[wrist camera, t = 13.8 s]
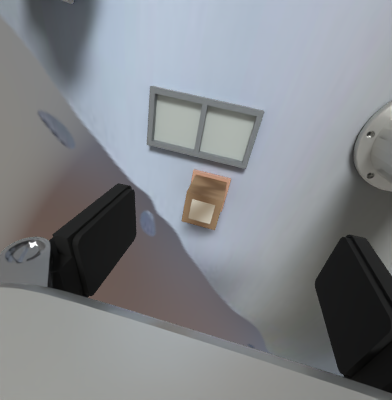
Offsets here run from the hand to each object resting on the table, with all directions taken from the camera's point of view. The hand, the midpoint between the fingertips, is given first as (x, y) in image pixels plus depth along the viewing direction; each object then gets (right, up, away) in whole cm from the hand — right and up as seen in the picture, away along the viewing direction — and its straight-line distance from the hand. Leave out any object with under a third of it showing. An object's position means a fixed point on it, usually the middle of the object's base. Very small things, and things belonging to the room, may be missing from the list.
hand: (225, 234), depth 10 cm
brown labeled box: (+1, +3, +25) cm, 25 cm away
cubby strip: (0, +12, +21) cm, 24 cm away
